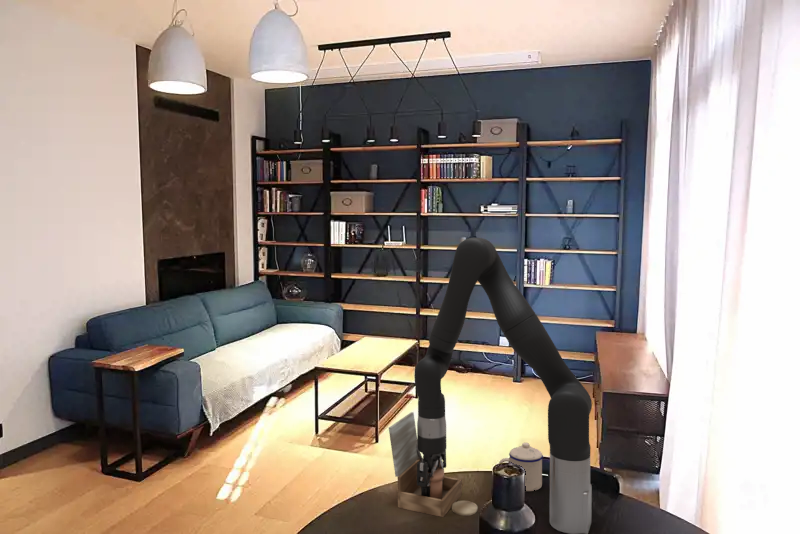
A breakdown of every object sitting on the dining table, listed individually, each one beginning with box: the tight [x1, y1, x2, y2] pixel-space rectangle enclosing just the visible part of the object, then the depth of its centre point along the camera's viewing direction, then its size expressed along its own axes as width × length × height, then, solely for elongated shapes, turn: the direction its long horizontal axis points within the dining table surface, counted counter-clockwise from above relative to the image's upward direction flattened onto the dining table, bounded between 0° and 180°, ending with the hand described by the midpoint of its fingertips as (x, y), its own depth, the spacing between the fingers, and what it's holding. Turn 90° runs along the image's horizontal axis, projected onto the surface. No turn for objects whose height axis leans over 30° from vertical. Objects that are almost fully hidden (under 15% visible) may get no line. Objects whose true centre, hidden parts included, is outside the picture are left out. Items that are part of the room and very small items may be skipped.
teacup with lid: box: [498, 442, 544, 492], centre depth 161 cm, size 12×9×12 cm
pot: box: [420, 468, 445, 500], centre depth 152 cm, size 6×6×7 cm
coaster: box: [451, 500, 478, 517], centre depth 147 cm, size 6×6×1 cm
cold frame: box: [388, 411, 463, 518], centre depth 152 cm, size 15×14×20 cm
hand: (432, 492), depth 152 cm, fingers open, 8 cm apart
